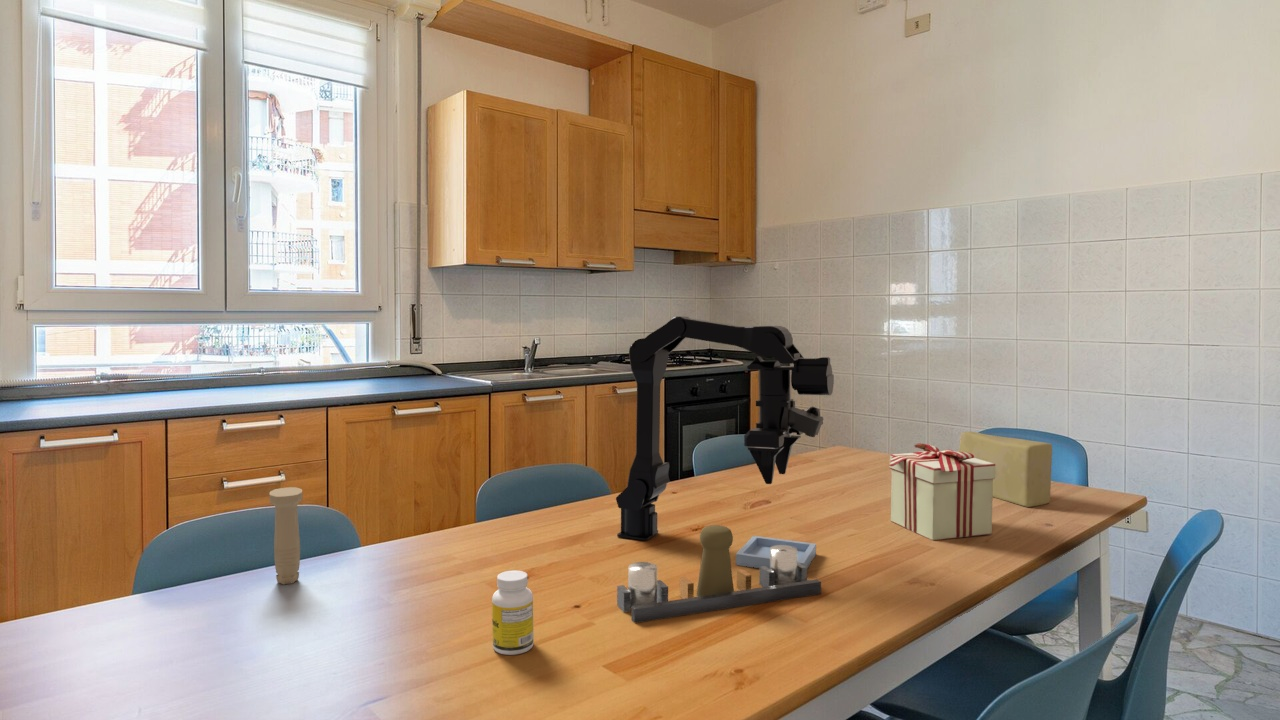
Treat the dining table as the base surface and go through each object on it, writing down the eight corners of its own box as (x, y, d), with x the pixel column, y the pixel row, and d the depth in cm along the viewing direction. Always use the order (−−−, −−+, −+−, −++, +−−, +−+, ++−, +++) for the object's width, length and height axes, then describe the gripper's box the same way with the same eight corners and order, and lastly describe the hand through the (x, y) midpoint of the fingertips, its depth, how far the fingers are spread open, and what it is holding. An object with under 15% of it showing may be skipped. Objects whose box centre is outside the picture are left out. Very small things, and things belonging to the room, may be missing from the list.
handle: (271, 590, 118) (269, 497, 118) (271, 577, 124) (269, 489, 123) (305, 585, 121) (303, 494, 120) (302, 573, 126) (301, 486, 125)
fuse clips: (615, 603, 114) (615, 565, 114) (794, 577, 126) (794, 542, 126) (633, 623, 107) (634, 582, 107) (821, 593, 119) (822, 557, 119)
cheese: (946, 489, 192) (947, 431, 191) (970, 485, 197) (972, 428, 196) (1027, 508, 173) (1030, 445, 172) (1052, 503, 178) (1054, 441, 177)
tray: (735, 564, 132) (735, 553, 132) (753, 545, 143) (753, 535, 143) (803, 574, 128) (803, 563, 127) (816, 554, 139) (816, 543, 138)
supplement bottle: (494, 638, 102) (494, 568, 101) (534, 637, 102) (534, 567, 101) (490, 657, 96) (489, 583, 96) (532, 655, 97) (532, 582, 96)
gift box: (873, 523, 160) (875, 443, 159) (941, 515, 167) (943, 439, 165) (930, 546, 144) (932, 458, 143) (1002, 537, 151) (1005, 453, 150)
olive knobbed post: (733, 603, 115) (734, 533, 114) (694, 600, 116) (695, 531, 115) (735, 589, 121) (737, 522, 120) (698, 586, 122) (699, 520, 121)
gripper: (806, 400, 124) (807, 493, 125) (829, 390, 141) (830, 472, 142) (742, 399, 129) (744, 488, 130) (772, 389, 146) (773, 468, 146)
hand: (775, 478), depth 137 cm, fingers open, 9 cm apart
